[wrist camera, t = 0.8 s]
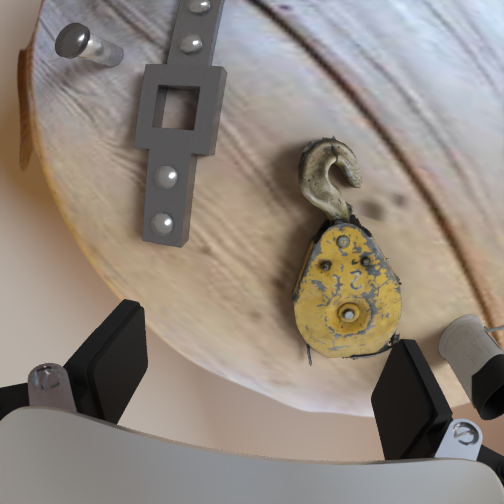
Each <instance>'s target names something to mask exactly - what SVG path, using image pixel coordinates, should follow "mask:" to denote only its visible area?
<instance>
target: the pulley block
mask: <svg viewBox="0 0 504 504" xmlns="http://www.w3.org/2000/svg"><path fill="white" fill-rule="evenodd" d="M300 152H302V157H301V160H300V163H299V166H298V181H299V186H300V189H301V191H302V193H303V195H304V196H305V197H306V198H307V199H308V200H309V201H310V202H311V203H312V204H313V205H315V206H316V207H318V208H319V209H321V210H323V211H324V213H325V214H326V215H327V217H328V219H327V220H326V221H325V222H324V223H323V224H322V226H321V227H320V229H319V231H318V232H317V234H316V235H315V236H314V237H313V238H312V240H311V241H310V243H309V246H308V249H307V252H306V255H305V258H304V260H303V263H302V266H301V269H300V272H299V275H298V278H297V281H296V284H295V286H294V289H293V291H292V293H293V295H292V298H293V304H294V314H295V321H296V324H297V328H298V330H299V332H300V334H301V335H302V337H303V338H304V340H305V341H306V345H307V353H308V358H309V364H310V366H311V364H312V362H311V356H310V346H311V347H312V348H313V349H314V350H315V351H317V352H318V353H320V354H321V355H323V356H325V357H329V358H336V357H342V358H343V359H344V358H352V359H353V360H354V359H358V358H367V357H373V356H376V355H379V354H381V353H383V352H385V351H388V350H390V349H392V347H393V345H394V344H395V343H396V342H397V343H398V341H399V335H396V329H397V326H398V323H399V320H400V316H401V308H402V302H401V291H400V286H399V284H401V283H399V280H400V279H399V278H398V276H397V275H396V274H395V273H394V272H393V270H392V268H391V267H390V265H389V263H388V262H387V259H386V258H385V256H384V255H383V253H382V251H381V249H380V248H379V246H378V244H377V242H376V241H375V239H374V237H373V235H372V234H371V233H370V232H369V231H368V230H367V229H366V228H364V227H363V226H361V224H360V222H359V220H358V219H357V218H355V215H354V214H353V215H351V214H352V212H353V207H352V206H351V205H349V204H348V203H346V202H345V200H344V198H343V196H342V194H341V193H340V191H339V189H338V188H337V186H335V185H334V184H333V183H332V182H331V181H330V180H329V177H328V169H329V167H330V166H331V164H333V163H334V164H336V165H337V166H338V167H339V168H340V169H341V172H342V174H343V176H344V177H345V179H346V180H347V182H348V183H349V184H350V185H351V186H352V187H354V188H360V187H361V185H362V180H361V176H360V172H359V168H358V164H357V161H356V157H355V155H354V153H353V152H352V150H351V149H350V148H349V147H348V146H346V145H345V144H344V143H342V142H339V141H337V140H336V139H335V137H334V136H333V137H332V138H322V140H318V141H316V142H310V143H309V144H308V145H307V146H306V147H304V148H303V150H302V151H300ZM388 259H389V258H388ZM390 339H391V341H389V340H390ZM388 341H389V344H390V342H392V343H391V346H389V345H387V342H388Z"/></svg>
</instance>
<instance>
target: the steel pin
mask: <svg viewBox="0 0 504 504" xmlns="http://www.w3.org/2000/svg"><path fill="white" fill-rule="evenodd" d="M55 50H56V53H57V54H58V55H59V56H61V57H65V58H75V57H77V56H78V57H81V58H84V59H87V60H90V61H94V62H97V63H100V64H103V65H106V66H108V67H115V66H117V65H118V64H119V63H120V62H121V61H122V59H123V56H124V51H123V49H122V48H121V47H119V46H117V45H115V44H113V43H110V42H108V41H106V40H104V39H102V38H100V37H97V36H95V35H93V34H91V33H90V31H89V29H88V28H87V27H86V26H84V25H82V24H79V23H71V24H69V25H67V26H66V27H65V28H64V29H63V30H62V31H61V32H60V33H59V35H58V37H57V39H56V43H55Z"/></svg>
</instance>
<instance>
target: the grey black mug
mask: <svg viewBox="0 0 504 504" xmlns="http://www.w3.org/2000/svg"><path fill="white" fill-rule="evenodd" d="M503 329H504V325H502V326H498V327H494V328H487V327H486V326H484V327H483V323H482V321H481V319H480V318H479V317H478V316H476V315H471V314H470V315H464V316H462V317H459V318H458V319H456V320H454V321H453V322H452V323H451V324H450V325H449V326H448V327H447V328H446V329H445V331H444V332H443V334H442V336H441V338H440V341H439V345H438V350H439V354H440V355H441V357H442V358H444V359H445V360H447V361H448V363H449V365H450V366H451V368H452V370H453V371H454V373H455V375H456V376H457V378H458V380H459V382H460V383H461V385H462V387H463V389H464V390H465V392H466V394H467V396H468V398H469V399H470V401H471V403H472V405H473V407H474V408H476V409H477V411H478V413H479V415H480V417H481V418H482V419H483V420H492V419H495V418H497V417H499V416H501V415H502V414H504V351H503V349H502V348H501V347H500V346H499V345H498V343H497V342H496V341H495V340H494V339H493V337H492V336H491V335H490V334H489V333H488V332H494V331H499V330H503ZM487 331H488V332H487Z"/></svg>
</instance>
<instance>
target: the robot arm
mask: <svg viewBox="0 0 504 504" xmlns="http://www.w3.org/2000/svg"><path fill="white" fill-rule="evenodd" d="M147 367H148V357H147V345H146V331H145V315H144V308H143V307H141V306H140V303H139V302H136V301H132V300H127V299H124V300H123V301H122V302H121V303H120V304H119V305H118V306H117V307H116V308H115V309H114V310H113V312H112V313H111V314H110V315H109V316H108V317H107V318H106V319H105V320H104V321H103V323H102V324H101V325H100V326H99V327H98V328H97V329H95V331H94V332H93V333H92V334H91V335H90V336H89V337H88V338H87V340H86V341H85V342H84V343H83V344H82V345H81V346H80V347H79V349H78V350H77V351H76V352H75V353H74V354H73V356H72V357H71V358H70V359H69V360H68V361H67V362H66V364H65V365H64V366H63V367H62V366H60V365H58V364H54V363H45V364H41V365H39V366H37V367H35V368H34V369H33V370H32V371H31V372H30V373H29V375H28V383H23V384H17V385H12V386H7V387H2V388H0V504H504V456H502V455H500V454H498V453H496V452H494V451H492V450H491V449H489V448H487V447H485V446H484V445H482V444H481V443H482V437H483V436H482V432H481V430H480V428H479V427H478V426H477V425H476V424H475V423H473V422H472V421H470V420H467V419H456V420H454V421H453V418H452V414H453V413H452V411H451V409H450V407H449V405H448V402H447V400H446V398H445V396H444V394H443V392H442V390H441V388H440V386H439V384H438V382H437V380H436V378H435V376H434V374H433V373H432V371H431V369H430V367H429V365H428V363H427V361H426V359H425V357H424V356H423V354H422V352H421V350H420V348H419V346H418V345H417V343H416V341H415V340H409V339H400V340H399V341H398V343H397V342H396V343H395V344H394V345H393V347H392V350H391V352H390V355H389V357H388V359H387V362H386V364H385V367H384V369H383V371H382V373H381V376H380V378H379V380H378V382H377V384H376V387H375V389H374V391H373V393H372V396H371V403H372V407H373V411H374V415H375V419H376V423H377V427H378V431H379V436H380V440H381V444H382V448H383V453H384V457H385V460H383V461H315V460H298V459H285V458H274V457H265V456H257V455H249V454H242V453H235V452H229V451H223V450H217V449H211V448H206V447H201V446H196V445H192V444H187V443H183V442H178V441H174V440H170V439H166V438H162V437H158V436H154V435H151V434H147V433H143V432H140V431H136V430H132V429H129V428H126V427H123V426H119V425H117V423H118V421H119V419H120V417H121V416H122V414H123V412H124V410H125V408H126V407H127V405H128V403H129V401H130V399H131V397H132V395H133V394H134V392H135V390H136V388H137V387H138V385H139V383H140V381H141V379H142V378H143V376H144V374H145V372H146V370H147Z"/></svg>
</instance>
